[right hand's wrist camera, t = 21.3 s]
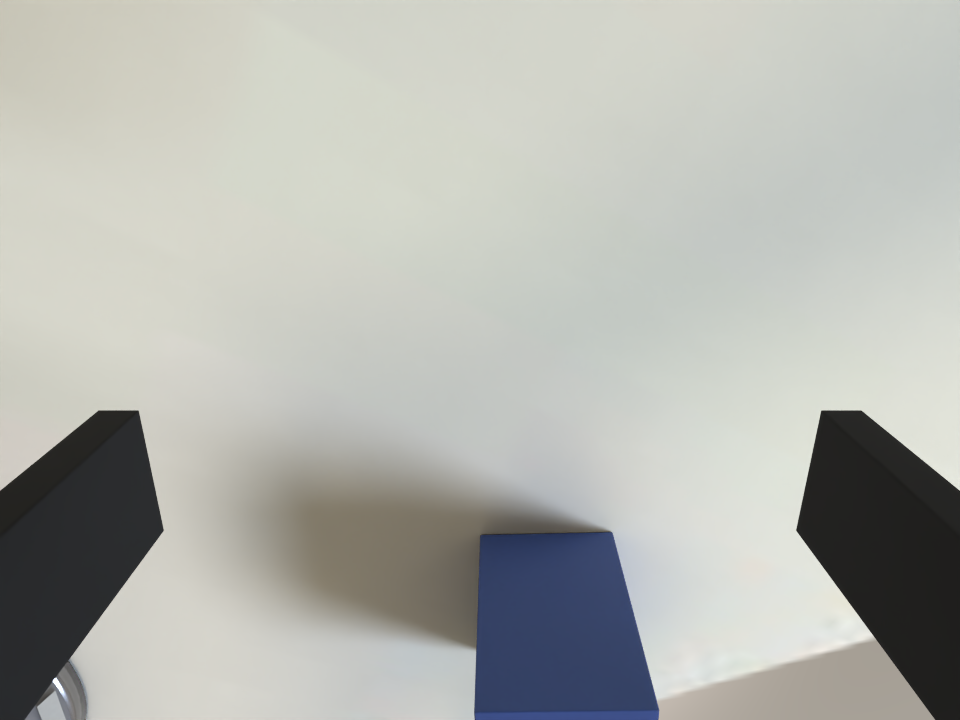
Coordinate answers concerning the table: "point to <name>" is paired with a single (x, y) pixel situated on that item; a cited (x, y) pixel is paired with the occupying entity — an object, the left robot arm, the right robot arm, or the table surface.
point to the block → (557, 632)
